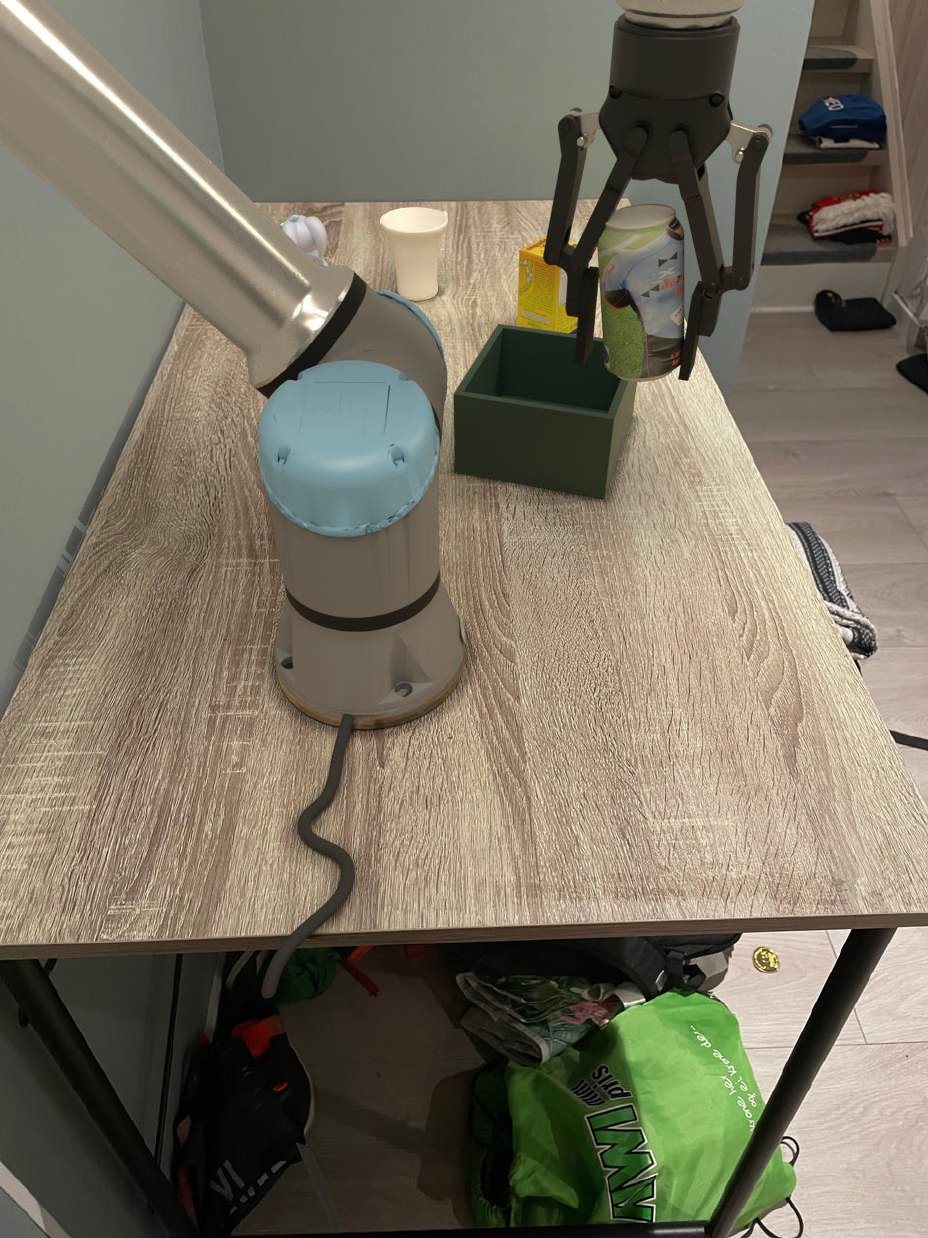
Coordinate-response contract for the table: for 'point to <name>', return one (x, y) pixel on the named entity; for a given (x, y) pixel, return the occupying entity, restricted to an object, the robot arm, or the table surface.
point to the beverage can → (642, 291)
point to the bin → (541, 413)
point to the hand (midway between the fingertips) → (634, 363)
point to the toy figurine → (307, 235)
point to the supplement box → (542, 292)
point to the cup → (415, 248)
